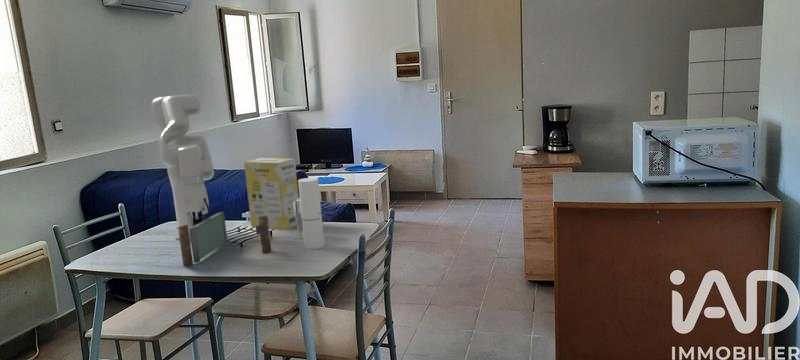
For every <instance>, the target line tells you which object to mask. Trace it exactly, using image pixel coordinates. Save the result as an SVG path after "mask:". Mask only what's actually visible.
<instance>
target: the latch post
mask: <svg viewBox="0 0 800 360" xmlns="http://www.w3.org/2000/svg"><path fill="white" fill-rule="evenodd" d="M258 219H259V226H256V227H255V230H256V231H255V233H256V235H257V236H260V243H261V252H262V253H263V254H268V253H271V252H272V245H271V237H270V228H269V226H268V217H267V216H261V217H258Z"/></svg>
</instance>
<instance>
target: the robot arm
mask: <svg viewBox="0 0 800 360" xmlns="http://www.w3.org/2000/svg"><path fill="white" fill-rule="evenodd" d="M201 110H202V104H201V101H200V99H199V97H198V96H197V95H196V94H193V93H192V94H191V93H190V94H178V95H177V94H175V95H167V96H159V97H156V98H154V99H153V100H152V102H151V112H152V114H153V115H152V116H153V118H154V120H155V122H156V124H157V125H158V127H159V129H160V130H161V134H160V136H159V138H158V148H159V152H160V157H161V160H162V163H163V164H164V165H165V166H167V169H166V171H167V175H168V178H169V182H170V186H171V191H172V196H173V204H174V208H175V209H174V211H175V218H176V223H177V225H176V226H175V229H177V230H178V226H180V225H188V231H189V238H190V240H191V237H190V229H189V228H190V227H193V226H195V225H196V224H198V223H200V222H202V221H204V220H203V218H204V215H207V214H209V210H208V209H209V206H210V204H209V203H210V201H209V197H208V195H209V194H208V192H207V187H206V185H205V183H204V182H205V181H208V180H211V179H212V178H213V177H214V175H215V169H214V164H213V160H212V158H211V152H210V149H209V145H208V142H207V139H206V138H205V137H204V136H203V135H199V134H196V135H186V134H187V133H188V132H189V130H190V129H191V124H190V119H189V117H190V116H198V115H200V114H201V113H202V112H201ZM174 238H175V239H176V240H179V241H180V239H179V232H177V233H175V235H174Z"/></svg>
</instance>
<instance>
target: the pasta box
mask: <svg viewBox="0 0 800 360" xmlns="http://www.w3.org/2000/svg"><path fill="white" fill-rule="evenodd" d="M243 164H244V172H245V180H246V188H247V189H246V190H247V198H248V209H249V215H250V225H251V228H256V226H259V219H258V217H261V216H267V217H268V226H269V230H270V229H271V230H272V229H273V230H283V231H287V230H290V229H291V228H293V227H295V226H296V227H297V224H296V220H295V217H294V211H293V200H294V199H296V198H300V196H299V185H298V180H297V168H296V167H297V166H296V159H295V158H284V157H283V158H282V157H281V158H279V157H278V158H277V157H258V158H256V159H251V160H247V161H244V163H243Z"/></svg>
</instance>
